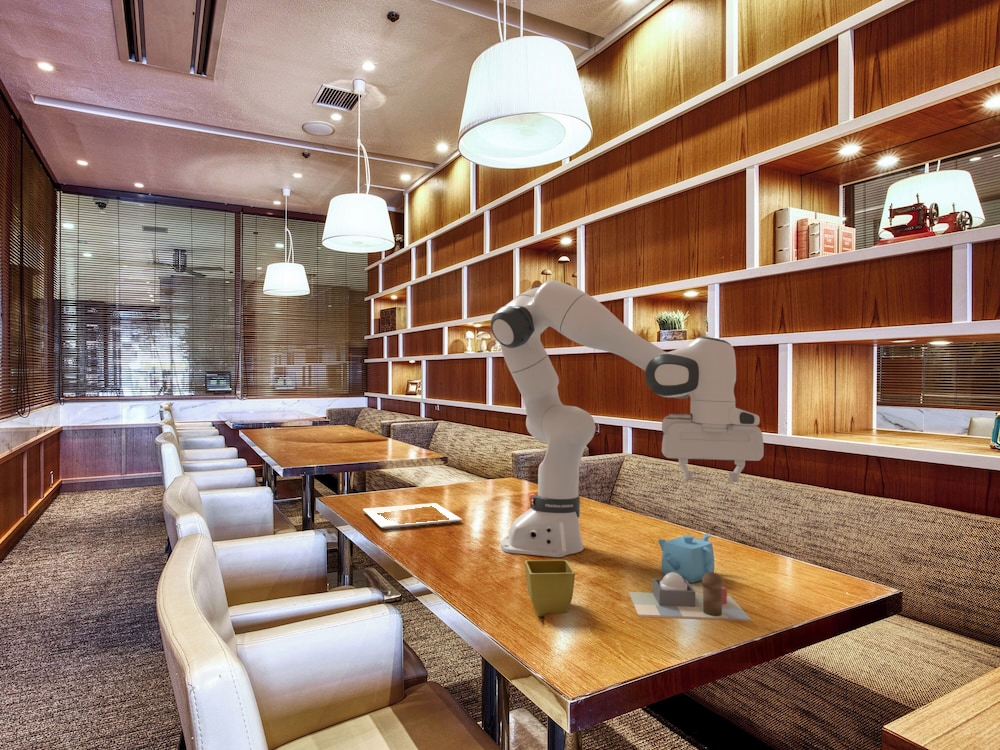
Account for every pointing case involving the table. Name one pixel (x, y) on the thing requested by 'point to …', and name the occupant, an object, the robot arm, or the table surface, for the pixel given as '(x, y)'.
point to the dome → (673, 582)
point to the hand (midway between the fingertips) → (711, 480)
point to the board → (681, 605)
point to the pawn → (712, 594)
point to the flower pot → (550, 585)
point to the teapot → (687, 557)
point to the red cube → (724, 595)
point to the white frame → (391, 524)
